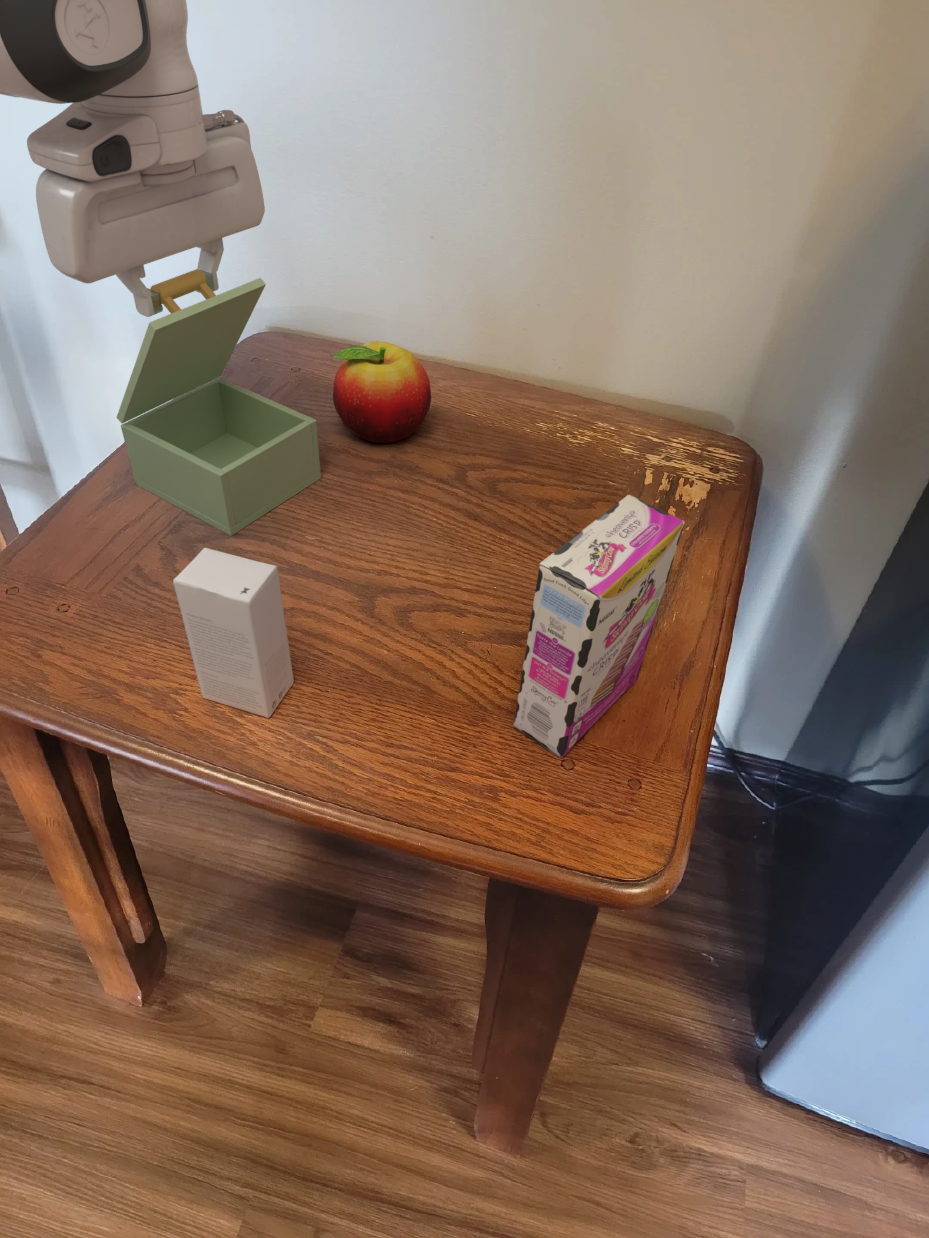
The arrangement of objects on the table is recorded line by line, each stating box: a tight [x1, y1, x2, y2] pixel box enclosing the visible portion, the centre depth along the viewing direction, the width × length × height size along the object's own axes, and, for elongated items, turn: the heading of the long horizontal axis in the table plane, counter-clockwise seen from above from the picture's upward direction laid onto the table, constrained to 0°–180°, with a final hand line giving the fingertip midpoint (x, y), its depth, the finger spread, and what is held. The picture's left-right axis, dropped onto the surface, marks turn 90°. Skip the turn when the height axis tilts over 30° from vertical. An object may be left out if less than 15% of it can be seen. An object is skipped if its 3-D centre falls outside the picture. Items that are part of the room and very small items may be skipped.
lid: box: [116, 268, 267, 425], centre depth 79 cm, size 14×13×5 cm
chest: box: [120, 376, 322, 537], centre depth 85 cm, size 14×13×7 cm
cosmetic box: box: [172, 547, 295, 719], centre depth 62 cm, size 6×4×12 cm
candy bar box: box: [512, 494, 686, 759], centre depth 61 cm, size 11×5×16 cm, turn 140°
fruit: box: [329, 340, 432, 444], centre depth 92 cm, size 11×11×10 cm
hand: (179, 302), depth 76 cm, fingers closed on lid, 5 cm apart
